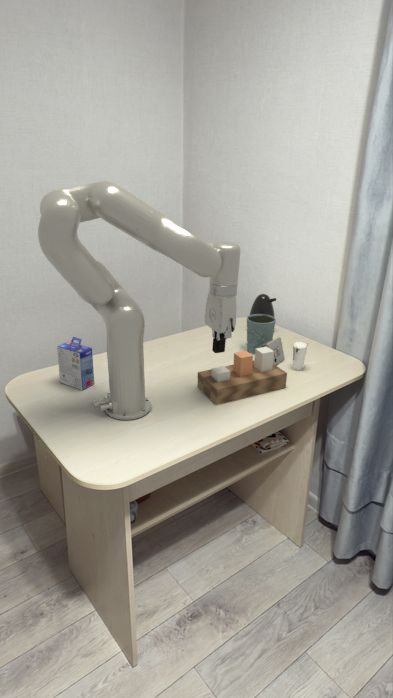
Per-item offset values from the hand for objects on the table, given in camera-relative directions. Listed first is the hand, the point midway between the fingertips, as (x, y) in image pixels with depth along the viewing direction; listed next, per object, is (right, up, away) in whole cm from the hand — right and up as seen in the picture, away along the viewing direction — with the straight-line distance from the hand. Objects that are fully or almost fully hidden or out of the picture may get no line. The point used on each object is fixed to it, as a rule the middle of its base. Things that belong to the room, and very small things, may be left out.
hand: (218, 351), depth 134 cm
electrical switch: (+19, -4, +26) cm, 33 cm away
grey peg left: (+1, -11, +5) cm, 12 cm away
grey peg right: (+14, -6, +10) cm, 18 cm away
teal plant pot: (+16, 0, +36) cm, 39 cm away
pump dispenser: (+19, +8, +52) cm, 56 cm away
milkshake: (+28, -6, +21) cm, 35 cm away
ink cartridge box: (-43, -10, +10) cm, 45 cm away
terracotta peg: (+8, -7, +7) cm, 12 cm away
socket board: (+7, -11, +9) cm, 16 cm away
